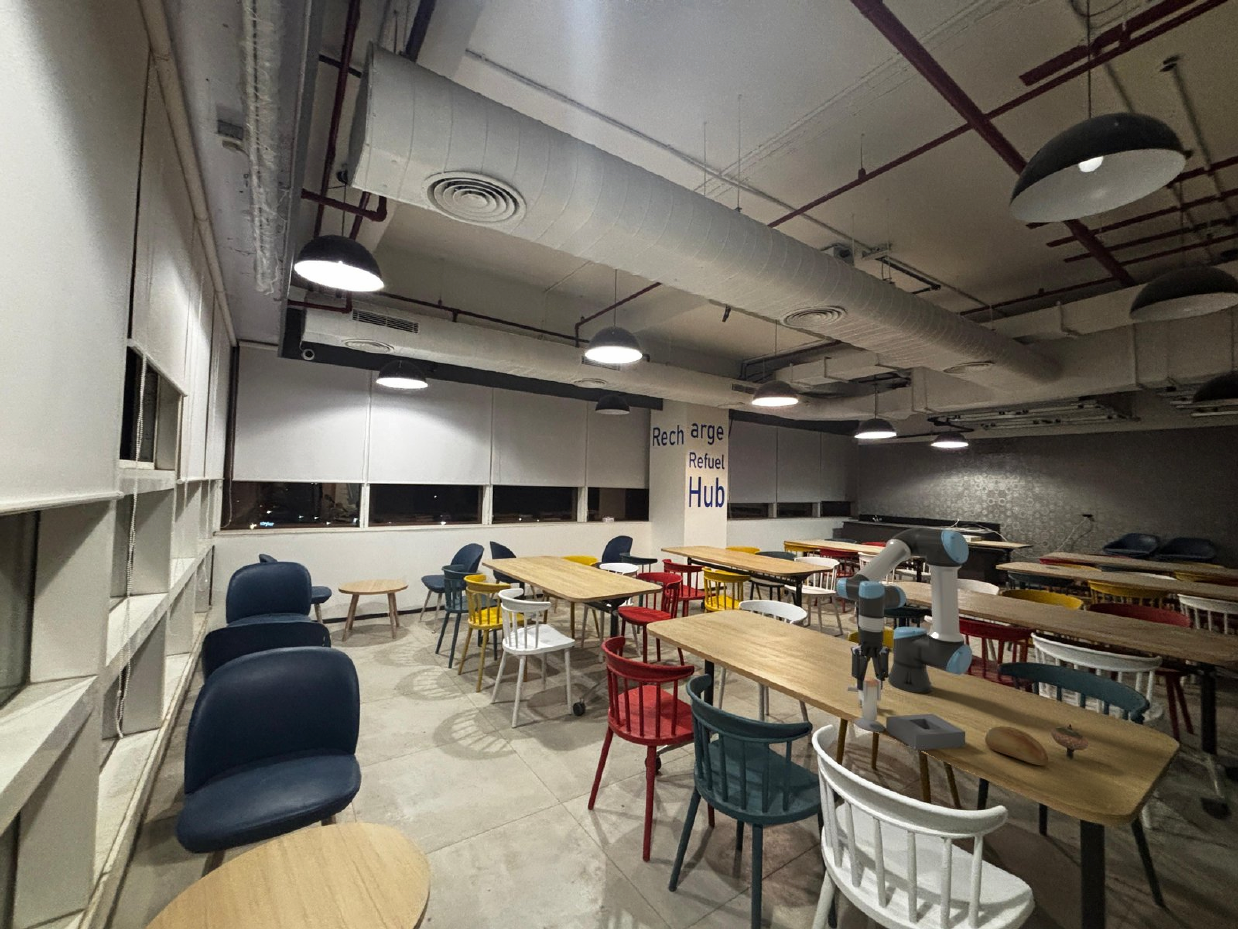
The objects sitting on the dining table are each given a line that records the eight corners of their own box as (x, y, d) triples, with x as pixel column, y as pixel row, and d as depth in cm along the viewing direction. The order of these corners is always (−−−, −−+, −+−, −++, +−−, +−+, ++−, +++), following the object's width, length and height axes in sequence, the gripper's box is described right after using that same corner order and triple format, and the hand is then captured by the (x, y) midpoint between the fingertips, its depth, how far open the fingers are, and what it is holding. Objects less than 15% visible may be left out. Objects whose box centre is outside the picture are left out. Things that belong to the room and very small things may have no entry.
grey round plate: (871, 718, 166) (871, 717, 166) (891, 731, 157) (891, 730, 157) (848, 719, 164) (848, 718, 164) (867, 733, 156) (867, 731, 156)
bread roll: (1044, 774, 136) (1044, 745, 136) (980, 750, 148) (980, 724, 148) (1051, 763, 142) (1051, 735, 142) (989, 741, 154) (989, 715, 154)
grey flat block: (932, 727, 161) (932, 713, 162) (965, 746, 150) (965, 731, 150) (886, 730, 158) (886, 716, 158) (915, 750, 146) (916, 735, 146)
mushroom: (870, 713, 164) (871, 676, 165) (881, 720, 159) (882, 682, 160) (857, 714, 163) (858, 677, 164) (868, 721, 158) (868, 683, 159)
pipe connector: (880, 712, 172) (880, 683, 172) (850, 708, 174) (850, 679, 174) (871, 700, 181) (872, 673, 182) (843, 696, 183) (843, 669, 184)
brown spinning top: (1047, 755, 147) (1047, 721, 147) (1055, 747, 151) (1055, 715, 152) (1084, 768, 140) (1084, 733, 140) (1091, 760, 145) (1091, 726, 145)
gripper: (885, 625, 168) (884, 693, 167) (839, 626, 164) (838, 696, 163) (902, 631, 161) (901, 703, 160) (855, 632, 157) (853, 706, 156)
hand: (869, 699), depth 161 cm, fingers closed on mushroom, 5 cm apart
